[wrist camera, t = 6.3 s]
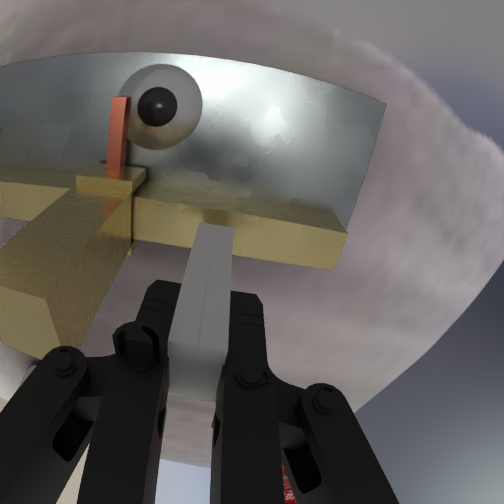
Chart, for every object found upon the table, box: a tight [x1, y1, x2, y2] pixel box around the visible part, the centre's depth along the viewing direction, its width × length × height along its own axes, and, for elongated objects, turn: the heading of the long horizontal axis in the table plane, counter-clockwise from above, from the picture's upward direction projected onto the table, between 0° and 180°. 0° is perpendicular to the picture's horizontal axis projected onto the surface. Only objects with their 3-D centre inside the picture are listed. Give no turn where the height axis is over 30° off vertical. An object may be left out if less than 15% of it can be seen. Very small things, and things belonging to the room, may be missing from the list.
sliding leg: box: [0, 96, 146, 360], centre depth 10 cm, size 3×8×10 cm, turn 168°
